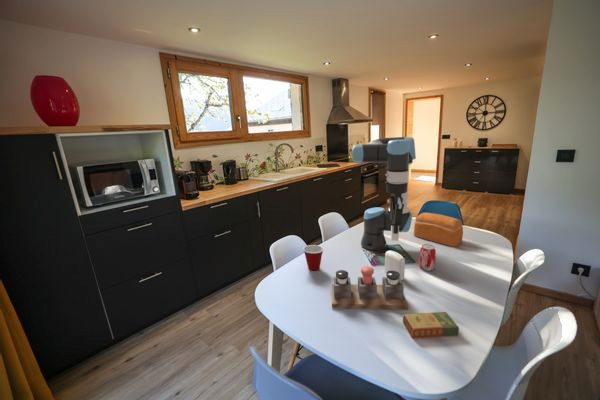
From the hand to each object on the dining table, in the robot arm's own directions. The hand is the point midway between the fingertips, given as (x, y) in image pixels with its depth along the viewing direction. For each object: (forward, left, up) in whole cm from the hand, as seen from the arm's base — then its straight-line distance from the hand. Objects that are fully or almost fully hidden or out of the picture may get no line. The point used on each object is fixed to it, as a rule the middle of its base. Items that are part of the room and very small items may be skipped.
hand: (394, 239), depth 105 cm
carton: (+19, +4, -27) cm, 34 cm away
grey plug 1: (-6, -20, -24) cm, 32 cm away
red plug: (-3, -10, -22) cm, 25 cm away
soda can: (-18, +29, -27) cm, 43 cm away
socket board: (-3, -10, -27) cm, 29 cm away
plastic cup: (-33, -26, -27) cm, 50 cm away
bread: (-48, +58, -27) cm, 80 cm away
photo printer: (-16, +10, -27) cm, 33 cm away
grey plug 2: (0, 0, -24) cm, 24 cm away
